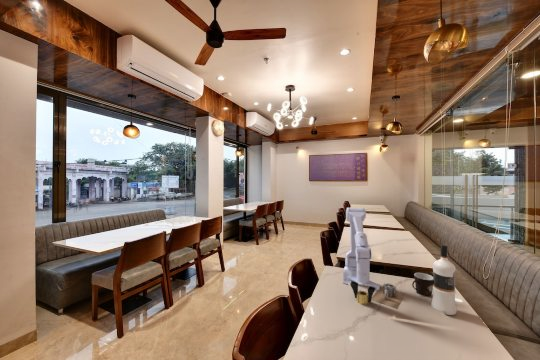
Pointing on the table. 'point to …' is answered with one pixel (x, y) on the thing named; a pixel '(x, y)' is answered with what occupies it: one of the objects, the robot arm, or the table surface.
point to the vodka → (444, 284)
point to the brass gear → (362, 297)
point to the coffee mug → (423, 284)
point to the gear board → (388, 298)
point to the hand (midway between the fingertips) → (362, 299)
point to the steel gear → (389, 290)
